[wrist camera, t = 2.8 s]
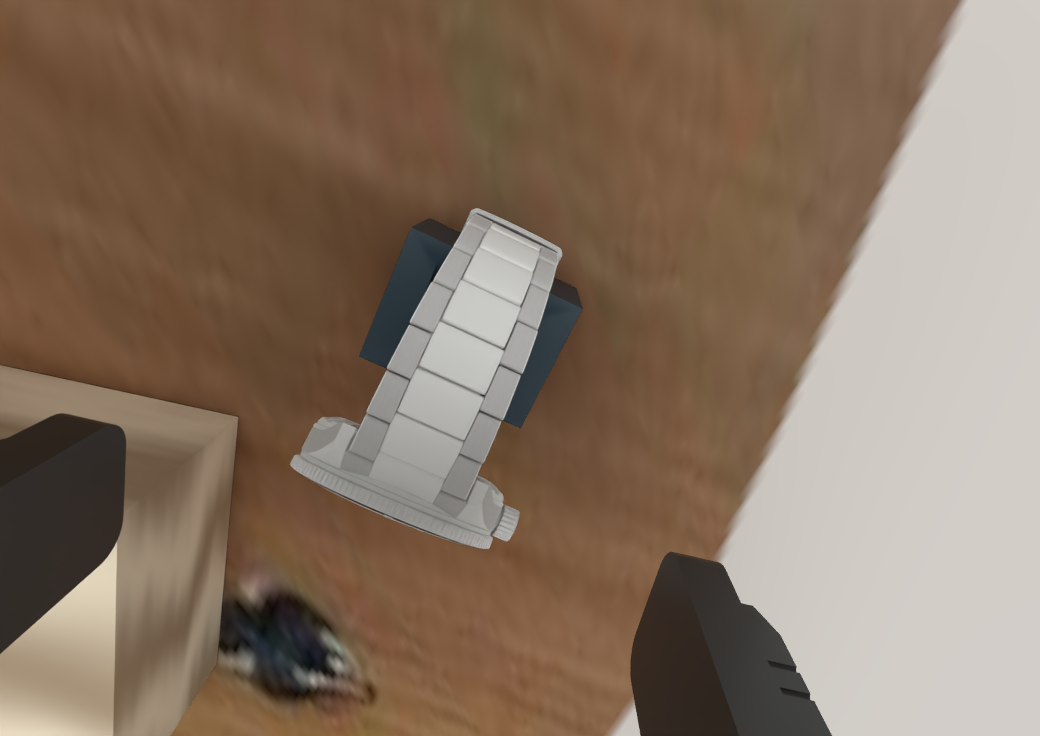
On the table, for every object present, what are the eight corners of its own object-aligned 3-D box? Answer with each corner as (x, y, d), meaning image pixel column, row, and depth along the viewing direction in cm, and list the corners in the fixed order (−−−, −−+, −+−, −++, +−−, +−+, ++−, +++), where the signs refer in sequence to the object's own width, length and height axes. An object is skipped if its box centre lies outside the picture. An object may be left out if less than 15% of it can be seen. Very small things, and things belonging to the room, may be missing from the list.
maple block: (-87, 346, 23) (-346, 422, 16) (238, 416, 23) (117, 518, 17) (-62, 607, 26) (-264, 757, 20) (216, 663, 27) (111, 826, 20)
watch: (363, 377, 23) (212, 561, 12) (450, 168, 20) (355, 173, 10) (502, 438, 23) (473, 664, 13) (603, 242, 21) (666, 323, 10)
